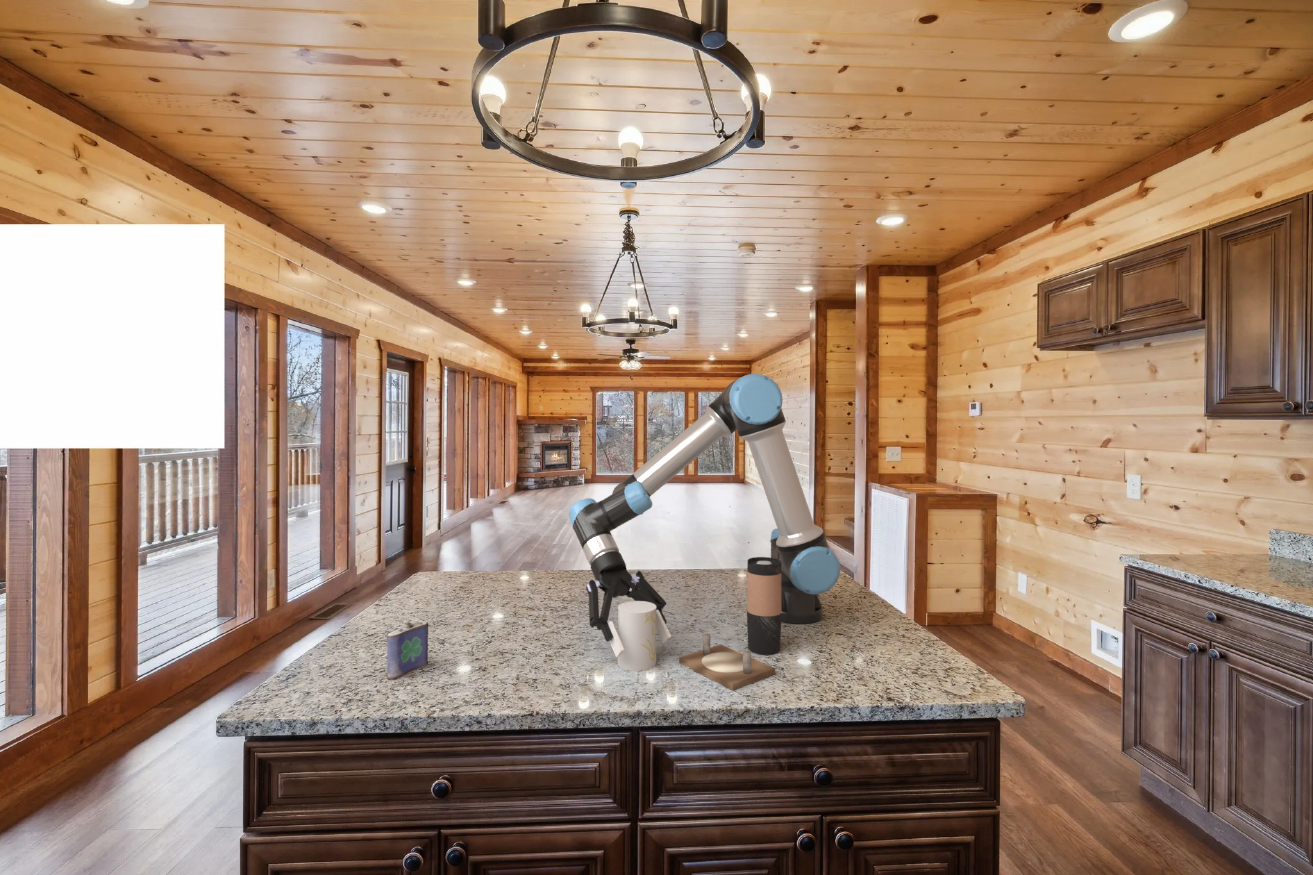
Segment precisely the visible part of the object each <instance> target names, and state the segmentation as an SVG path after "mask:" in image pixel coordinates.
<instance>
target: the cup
mask: <svg viewBox="0 0 1313 875" xmlns="http://www.w3.org/2000/svg"><path fill="white" fill-rule="evenodd" d="M617 634H618V636H619V638H620V641H621V643H622V645H623V648H624V651H623V652H622V654H621V655H620V656H619V657H617V665H619V666H618V667H619V668H620V669H622V670H625V671H628V670H629V672H642V671H641V670H645V671H649V670H651V669H653V668H655V667H654V666H657V629H656V605H655V604H653V603H650V602H646V601H635V600H632V601H631V600H630V601H625V602H622V603H620V604H619V605H618V606H617ZM652 667H653V668H652ZM650 668H651V669H650ZM648 669H649V670H648Z"/></svg>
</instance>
